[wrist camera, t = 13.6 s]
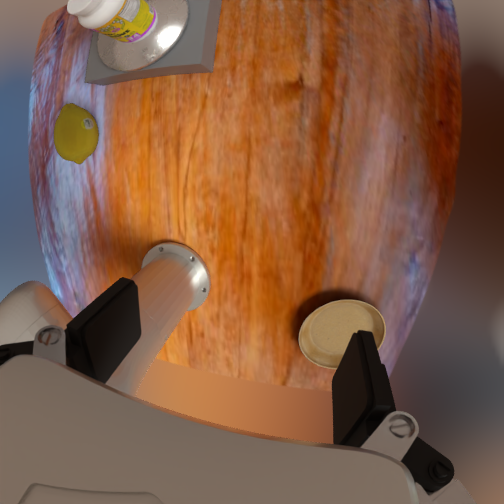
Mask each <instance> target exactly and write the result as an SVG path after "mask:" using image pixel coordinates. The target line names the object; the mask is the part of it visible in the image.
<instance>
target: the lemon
mask: <svg viewBox="0 0 504 504" xmlns="http://www.w3.org/2000/svg"><path fill="white" fill-rule="evenodd" d="M98 137H99V132H98V127H97V124H96V121H95V119H94V118H93V116H92V115H91V114H90V113H89V112H88V111H87V110H85V109H83V108H81V107H79V106H77V105H75V104H73V103H70V104H66V105H65V106H63V107H62V109H61V112H60V114H59V116H58V118H57V120H56V123H55V128H54V143H55V147H56V150H57V152H58V153H59V155H60V156H61V157H62V158H63V159H65V160H68V161H74V162H75V163H76V164H81V163H83V161H84V160H85V159H86V158H87V157H88V156H90V155H91V154H92V153H93V152H94V150H95V149H96V146H97V143H98Z"/></svg>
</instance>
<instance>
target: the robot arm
mask: <svg viewBox="0 0 504 504" xmlns="http://www.w3.org/2000/svg"><path fill="white" fill-rule="evenodd" d="M193 257H194V258H193ZM210 286H211V281H210V275H209V271H208V269H207V267H206V265H205V263H204V262H203V260H202V259H201V257H200V256H199V255H198V254H197V253H196V252H194V251H193V250H192V249H190V248H189V247H187V246H185V245H182V244H179V243H175V242H165V243H161V244H158V245H156V246H155V247H153V248H152V249H151V250H149V251H148V252H147V254H146V255H145V257H144V259H143V262H142V267H141V270H140V271H139V272H138V273H136V274H135V275H134V276H133V277H132V278H131V279H127V278H124V277H122V278H120V279H119V280H118V281H116V282H115V283H114V284H113V285H112V286H110V287H109V288H108V289H107V290H106V291H104V292H103V293H102V294H101V295H100V296H99V297H97V298H96V299H95V300H94V301H93V302H92V303H90V304H89V305H88V306H87V307H86V308H85V309H84V310H82V311H81V312H80V313H79V314H78V315H77V316H76V317H74V318H72V316H71V315H70V314H69V312H68V311H67V310H66V309H65V307H64V306H63V305H62V304H61V302H60V301H59V300H58V298H57V297H56V296H55V295H54V293H53V292H52V291H51V290H50V289H49V288H48V287H47V286H46V285H45V284H43V283H41V282H39V281H28V282H25V283H23V284H21V285H19V286H18V287H16V288H15V289H14V290H13V291H11V292H10V293H9V294H8V295H7V296H6V297H5V298H4V299H3V300H2V301H1V303H0V504H477V503H476V502H475V501H474V499H473V498H472V497H471V495H470V494H469V493H468V491H467V490H466V489H465V487H464V486H463V485H462V484H461V482H460V481H459V480H458V479H457V480H456V481H455V480H454V479H453V476H454V467H453V465H452V463H451V461H450V460H449V459H447V458H446V457H445V456H443V455H442V454H441V453H439V452H438V451H436V450H435V449H434V448H432V447H431V446H430V445H428V444H426V443H425V442H424V441H422V440H421V439H420V438H418V437H417V434H418V432H419V429H418V428H419V427H418V424H417V421H416V420H415V419H414V417H412V416H411V415H410V414H408V413H405V412H402V411H396V408H395V403H394V399H393V395H392V391H391V387H390V383H389V379H388V375H387V371H386V368H385V365H384V364H381V361H380V357H379V353H378V350H377V346H376V343H375V339H374V336H373V333H372V332H371V331H364V330H358V332H357V333H355V332H354V333H353V334H352V336H351V339H350V341H349V343H348V346H347V348H346V350H345V353H344V355H343V357H342V359H341V361H340V364H339V366H338V368H337V370H336V372H335V374H334V376H333V379H332V399H333V442H334V444H326V443H317V442H309V441H301V440H294V439H288V438H281V437H275V436H269V435H264V434H258V433H253V432H249V431H244V430H239V429H235V428H231V427H227V426H223V425H219V424H215V423H211V422H207V421H204V420H201V419H197V418H193V417H191V416H187V415H184V414H181V413H178V412H175V411H172V410H169V409H166V408H163V407H160V406H157V405H155V404H152V403H149V402H147V401H144V400H141V399H139V398H136V397H135V396H136V394H137V391H138V388H139V386H140V384H141V382H142V379H143V378H144V376H145V374H146V372H147V370H148V369H149V367H150V365H151V363H152V362H153V360H154V359H155V357H156V356H157V354H158V353H159V351H160V350H161V348H162V347H163V345H164V344H165V342H166V341H167V339H168V338H169V336H170V335H171V333H172V332H173V330H174V329H175V327H176V326H177V324H178V323H179V321H180V320H181V318H182V317H183V315H184V314H185V312H186V311H191V310H194V309H196V308H198V307H199V306H200V305H202V303H203V302H204V301H205V300H206V298H207V296H208V294H209V291H210Z"/></svg>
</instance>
